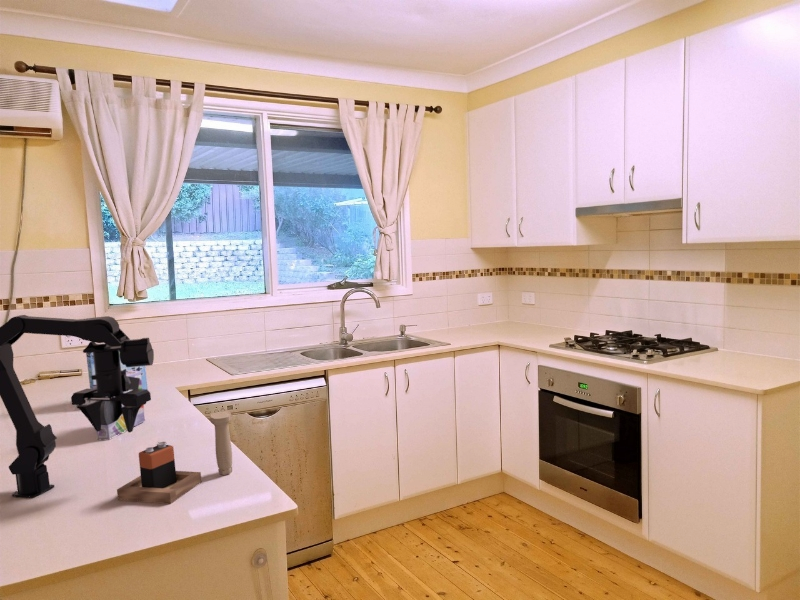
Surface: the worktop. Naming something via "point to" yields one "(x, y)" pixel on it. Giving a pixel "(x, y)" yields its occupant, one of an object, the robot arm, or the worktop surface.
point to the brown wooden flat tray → (159, 489)
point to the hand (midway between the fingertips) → (114, 431)
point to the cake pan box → (117, 414)
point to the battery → (157, 466)
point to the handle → (222, 441)
